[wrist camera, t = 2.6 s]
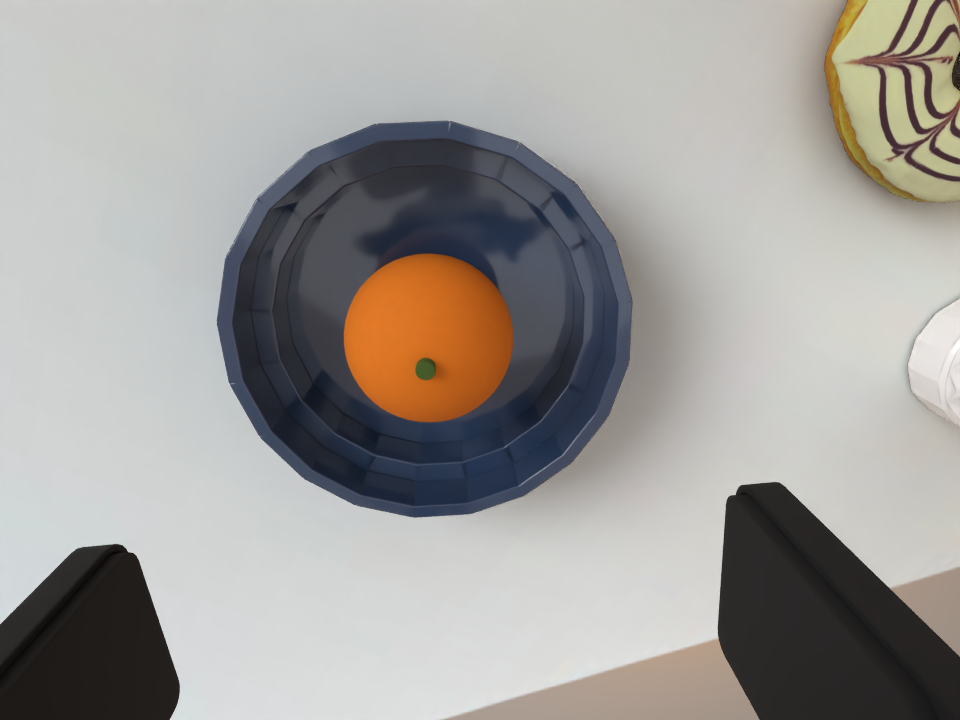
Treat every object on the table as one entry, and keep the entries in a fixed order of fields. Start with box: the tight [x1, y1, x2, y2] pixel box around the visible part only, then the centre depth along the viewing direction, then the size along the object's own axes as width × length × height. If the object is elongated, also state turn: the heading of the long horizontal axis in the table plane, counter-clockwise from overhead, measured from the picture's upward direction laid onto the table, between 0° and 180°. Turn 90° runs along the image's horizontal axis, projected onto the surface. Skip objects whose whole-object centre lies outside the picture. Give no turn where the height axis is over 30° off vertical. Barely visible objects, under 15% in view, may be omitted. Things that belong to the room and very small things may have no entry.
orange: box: [344, 253, 513, 422], centre depth 23 cm, size 7×7×7 cm
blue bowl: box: [217, 121, 632, 518], centre depth 25 cm, size 16×16×5 cm
